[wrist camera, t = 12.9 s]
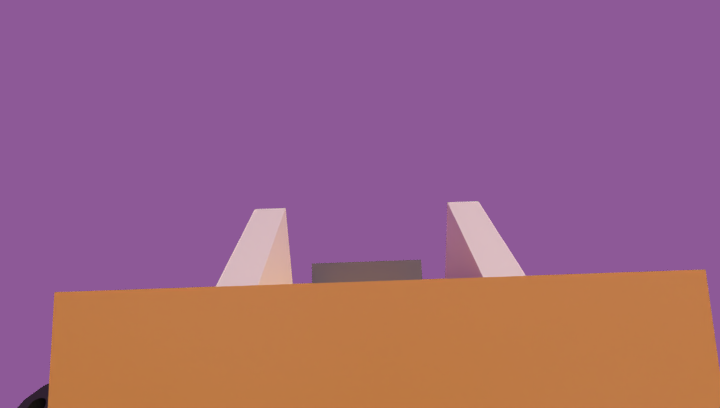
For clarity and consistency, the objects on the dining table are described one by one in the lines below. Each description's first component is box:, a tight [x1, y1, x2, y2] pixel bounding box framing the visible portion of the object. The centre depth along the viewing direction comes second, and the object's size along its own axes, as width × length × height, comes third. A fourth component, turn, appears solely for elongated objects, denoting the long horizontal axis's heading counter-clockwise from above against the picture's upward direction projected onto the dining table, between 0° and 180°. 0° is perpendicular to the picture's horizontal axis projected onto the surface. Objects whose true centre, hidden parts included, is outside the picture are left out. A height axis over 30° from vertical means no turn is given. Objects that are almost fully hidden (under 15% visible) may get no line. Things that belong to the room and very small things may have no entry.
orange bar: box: [48, 260, 720, 408], centre depth 16 cm, size 26×5×5 cm, turn 179°
